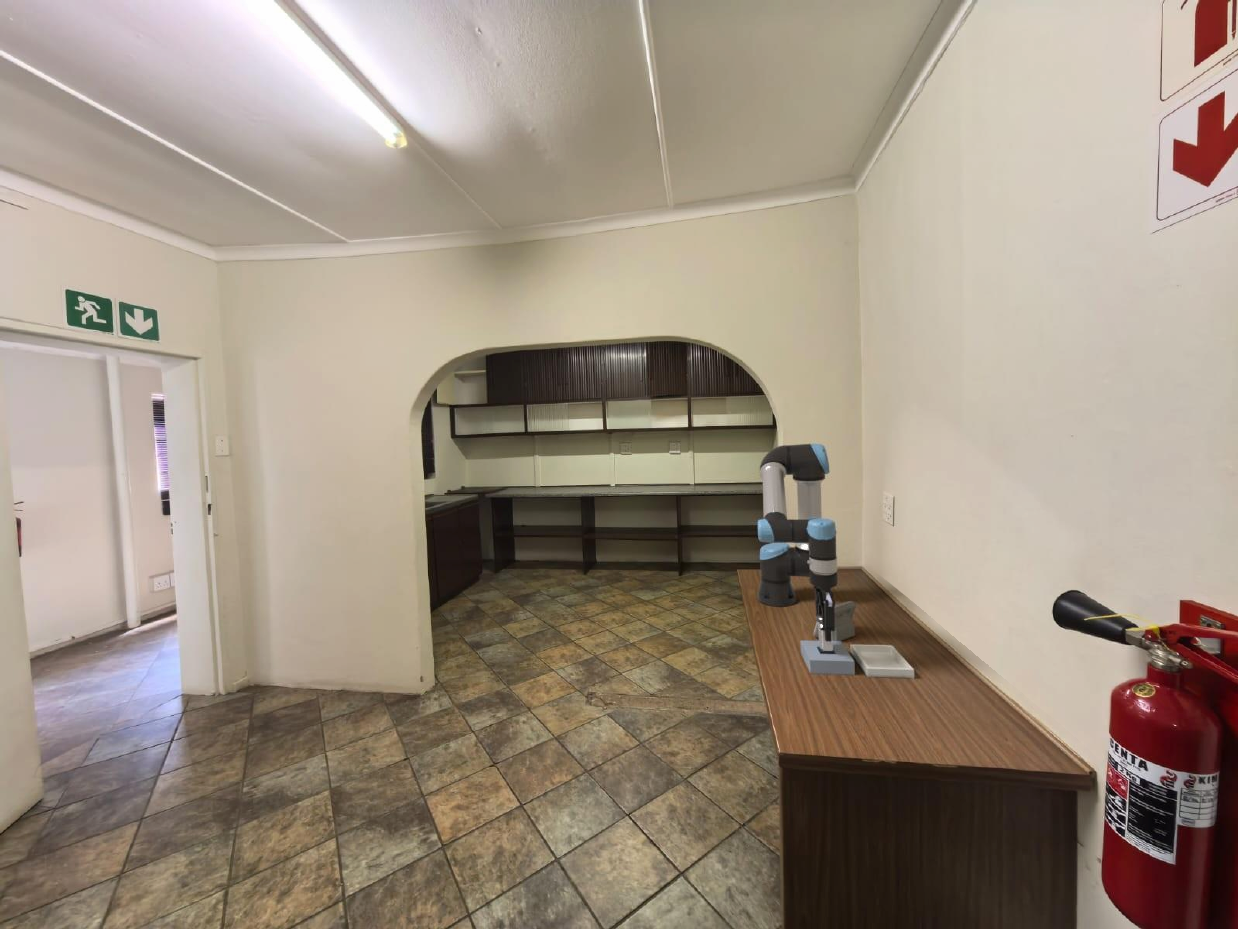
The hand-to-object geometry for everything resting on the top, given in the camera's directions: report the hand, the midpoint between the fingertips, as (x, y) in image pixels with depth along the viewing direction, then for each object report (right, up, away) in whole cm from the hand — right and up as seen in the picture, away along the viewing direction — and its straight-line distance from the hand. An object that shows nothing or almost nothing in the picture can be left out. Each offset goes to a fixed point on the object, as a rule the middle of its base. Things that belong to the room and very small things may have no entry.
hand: (825, 646), depth 132 cm
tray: (+15, -4, -3) cm, 16 cm away
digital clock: (+12, -3, +18) cm, 21 cm away
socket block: (0, -5, 0) cm, 5 cm away
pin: (0, -5, 0) cm, 5 cm away
